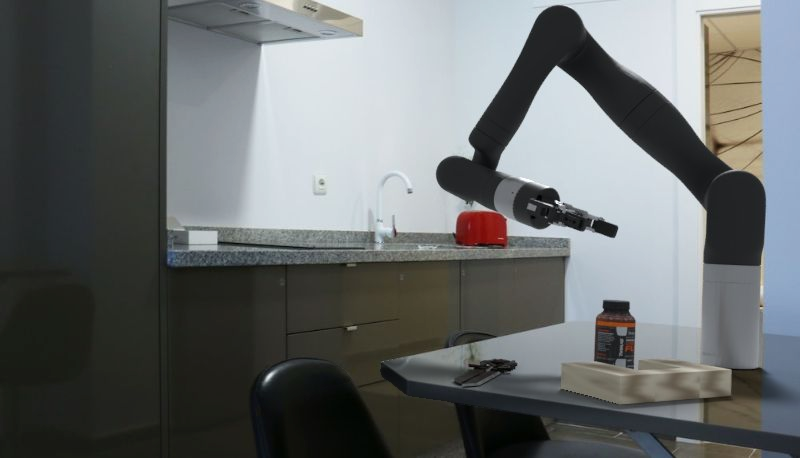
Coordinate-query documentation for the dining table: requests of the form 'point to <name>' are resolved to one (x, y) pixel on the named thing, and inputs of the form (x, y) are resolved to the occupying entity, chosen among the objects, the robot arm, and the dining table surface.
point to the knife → (479, 372)
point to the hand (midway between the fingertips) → (600, 228)
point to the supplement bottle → (615, 334)
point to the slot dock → (646, 381)
